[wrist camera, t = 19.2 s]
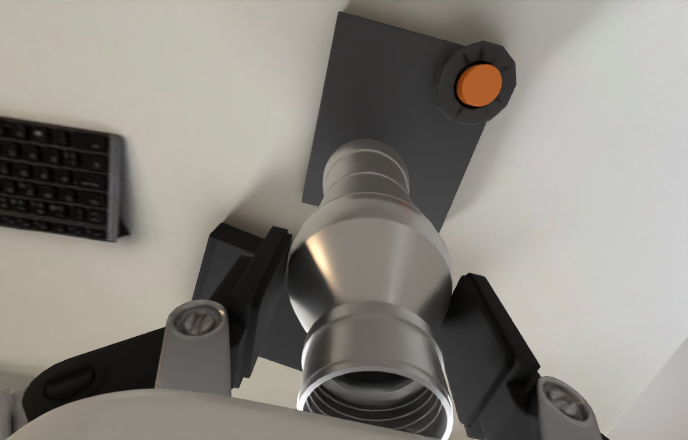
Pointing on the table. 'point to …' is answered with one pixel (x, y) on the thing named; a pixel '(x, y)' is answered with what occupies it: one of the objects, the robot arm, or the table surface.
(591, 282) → the table surface
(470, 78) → the button
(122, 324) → the table surface
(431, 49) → the scale
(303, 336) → the external hard drive
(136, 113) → the table surface
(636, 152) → the table surface
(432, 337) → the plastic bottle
